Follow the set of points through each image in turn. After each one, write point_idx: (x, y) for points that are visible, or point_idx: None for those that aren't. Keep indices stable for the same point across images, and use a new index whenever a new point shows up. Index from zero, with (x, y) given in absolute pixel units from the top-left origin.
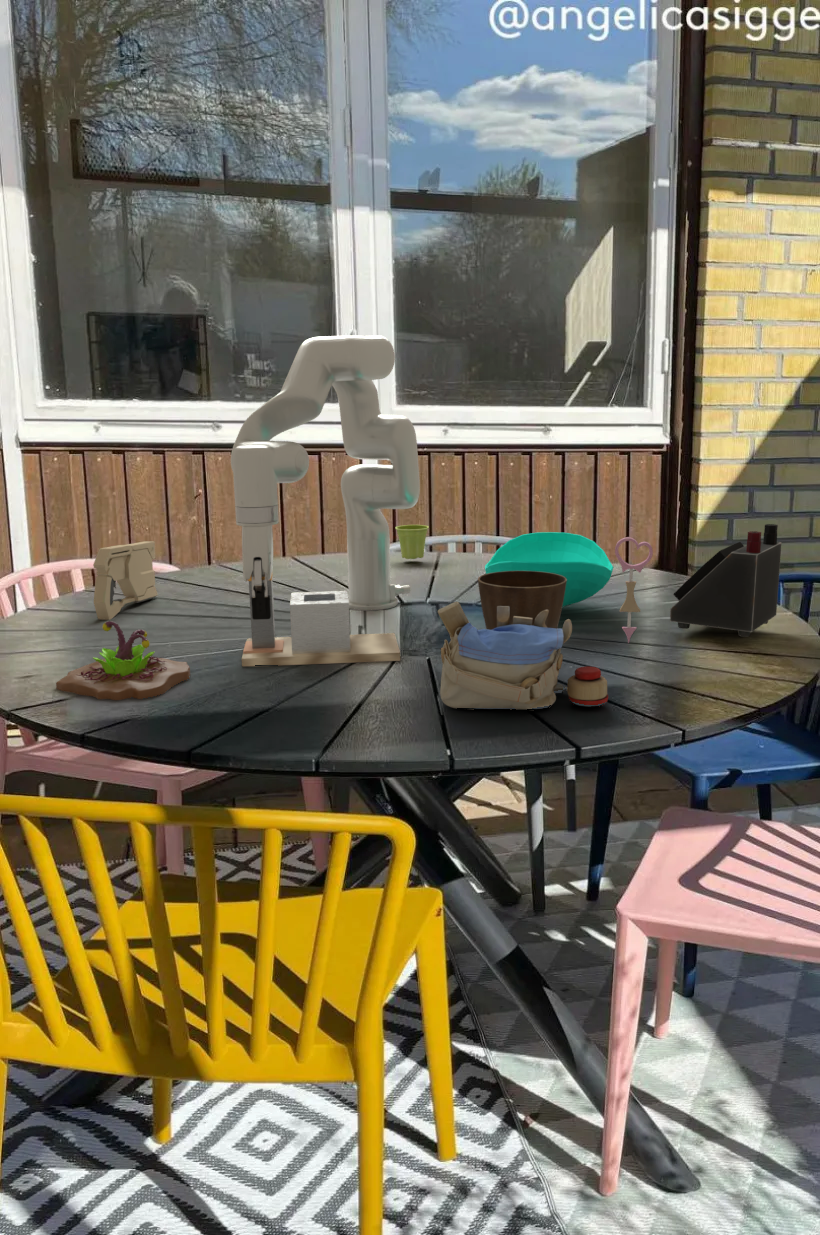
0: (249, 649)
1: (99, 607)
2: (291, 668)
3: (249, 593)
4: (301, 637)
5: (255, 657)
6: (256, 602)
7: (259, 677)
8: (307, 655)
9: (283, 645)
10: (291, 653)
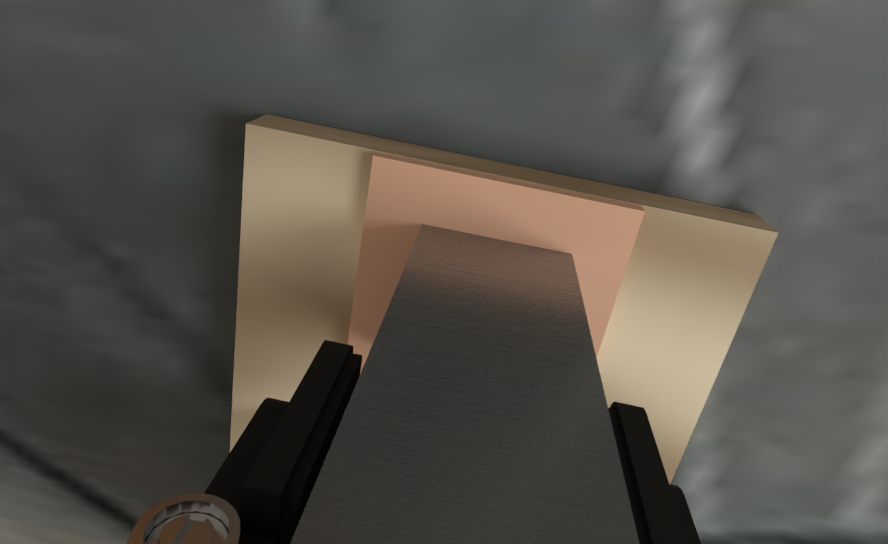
0: (407, 202)
1: None
2: (192, 357)
3: (301, 517)
4: None
5: (256, 213)
6: (208, 487)
7: (48, 182)
8: None
9: None
10: None
